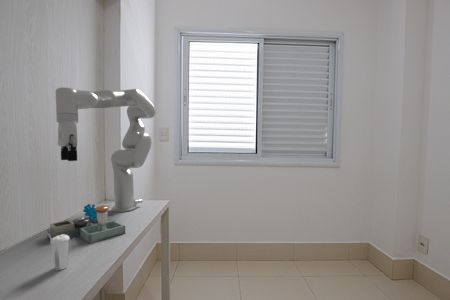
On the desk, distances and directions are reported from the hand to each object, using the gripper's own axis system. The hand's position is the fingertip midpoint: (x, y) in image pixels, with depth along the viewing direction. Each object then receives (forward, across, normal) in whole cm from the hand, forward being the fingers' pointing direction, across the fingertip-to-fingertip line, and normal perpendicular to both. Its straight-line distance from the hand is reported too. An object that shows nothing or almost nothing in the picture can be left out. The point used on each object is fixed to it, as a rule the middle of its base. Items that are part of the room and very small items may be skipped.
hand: (69, 160), depth 102 cm
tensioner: (+28, +8, -2) cm, 30 cm away
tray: (+28, +18, +6) cm, 34 cm away
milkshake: (+28, +35, -12) cm, 47 cm away
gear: (+29, -3, +10) cm, 31 cm away
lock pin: (+28, +18, +6) cm, 34 cm away
